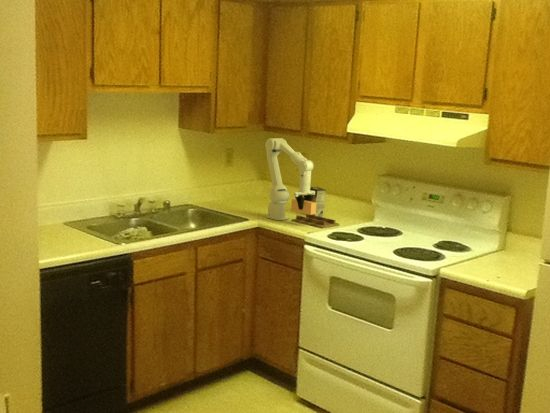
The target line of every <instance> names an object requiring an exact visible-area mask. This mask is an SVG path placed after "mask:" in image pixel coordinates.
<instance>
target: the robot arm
mask: <svg viewBox="0 0 550 413" xmlns="http://www.w3.org/2000/svg"><path fill="white" fill-rule="evenodd" d="M264 145H265V150H266V151H265V152H266V154H265V155H266V159H267V164H268V169H269V170H268V171H269V173H270V174H269V175H270V178H271V184H272V187H271V188H270V190H269V193H270V194H269V199H270V201H271V202H269V204H268V205H267V206H268V207H267V216H266V218H267V219H271V220H275V221H285V220H289V218H288V217H286V208H287V202H288V201H289V200H290V193H289V191H288V188H287V187H286V186H285V185H284V183H283V180H282V174H281V170H280V165H279V160H278V156H279V154H280V153H282V151H283V152H284V153H285V154H287V155H288V156H289V157H290V160H291V161H292V163H294V164H295V165H296V166H297V167H298V168H297V169H298V171H299V172H298V173H299V174H298V175H299V189H298V190H299V191H296V192H293V197H295V198H294V199H296V200H297V203H298V207H299V209H300V210H302V209H303V203H304V200H306V201H311V200H312V199H313V196H312V195H315V191H310V187H311V182H312V171H314V168H315V163H314V162H313V160H311V159H310V160H309V159H307V157H304V156H303V155H302V153H301V151H295V150H294V149H293V148H292V147H291V146H290V145H289V144H288V143H287V140H286V139H285V138H283V137H280V138H275V137H274V138H271V137H270V138H268V139H267V140H266V142H265V143H264Z"/></svg>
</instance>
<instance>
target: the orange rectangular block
mask: <svg viewBox="0 0 550 413" xmlns="http://www.w3.org/2000/svg"><path fill="white" fill-rule="evenodd" d="M290 210H291V211H293V212H297V213H301V214H305V215H306V214H309V215H312V214H316V203H315V202H311V201H306V200H304V203H303V209H302V210H300V209H299V207H298V203H297V200H296V198H292V199H291V205H290Z"/></svg>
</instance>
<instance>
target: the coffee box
mask: <svg viewBox="0 0 550 413" xmlns="http://www.w3.org/2000/svg"><path fill="white" fill-rule="evenodd" d="M310 191H315V195H312V196H313V199H312V200H311V202H315V203H316V214H312V215H315V216H319V217H324V218H325V210H326V208H325V207H326V198H327V196H326V195H327V189H325V188H321V187H319V186H310Z"/></svg>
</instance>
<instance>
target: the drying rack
mask: <svg viewBox="0 0 550 413" xmlns="http://www.w3.org/2000/svg"><path fill="white" fill-rule="evenodd" d="M293 221H295V223H299V224H301V225H307V226H311V227H314V228H319V229H328V228H333V227H339V226H341V225H340V223H337V222H336V219H332V218H328V217H325V216H324V217H319V216H315V215H309V214H305V216H302V215H299V214H298V215H296V216H295V218H292V219H291V222H293Z"/></svg>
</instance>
